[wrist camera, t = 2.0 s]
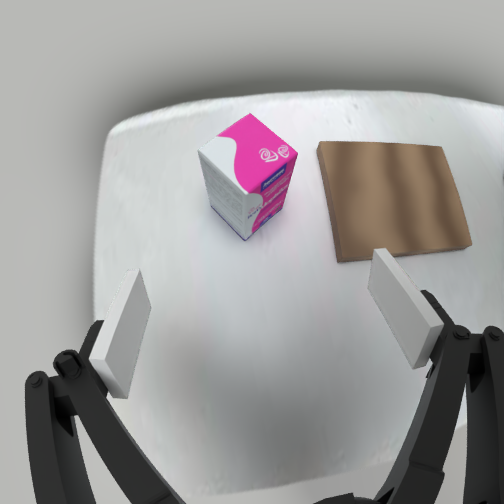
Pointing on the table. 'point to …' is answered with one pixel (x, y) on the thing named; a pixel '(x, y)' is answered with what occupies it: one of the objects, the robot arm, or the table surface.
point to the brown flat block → (391, 199)
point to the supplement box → (247, 174)
